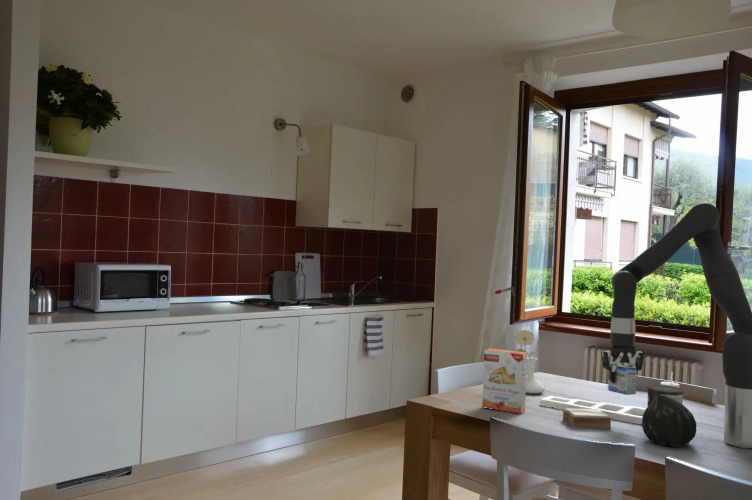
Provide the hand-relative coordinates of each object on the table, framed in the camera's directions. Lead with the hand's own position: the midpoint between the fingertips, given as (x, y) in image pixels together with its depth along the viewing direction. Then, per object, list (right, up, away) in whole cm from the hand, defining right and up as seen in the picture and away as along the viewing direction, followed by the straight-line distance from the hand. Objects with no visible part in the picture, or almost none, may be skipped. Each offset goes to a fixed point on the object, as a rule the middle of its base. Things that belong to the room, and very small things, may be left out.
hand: (622, 382), depth 206 cm
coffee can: (+10, -14, -8) cm, 19 cm away
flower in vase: (-20, -14, +47) cm, 52 cm away
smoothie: (+27, -15, +24) cm, 39 cm away
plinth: (-12, -13, -1) cm, 18 cm away
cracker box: (-36, -13, +15) cm, 41 cm away
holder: (+2, -15, +17) cm, 23 cm away
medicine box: (0, -3, 0) cm, 3 cm away
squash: (+6, -14, -20) cm, 25 cm away
